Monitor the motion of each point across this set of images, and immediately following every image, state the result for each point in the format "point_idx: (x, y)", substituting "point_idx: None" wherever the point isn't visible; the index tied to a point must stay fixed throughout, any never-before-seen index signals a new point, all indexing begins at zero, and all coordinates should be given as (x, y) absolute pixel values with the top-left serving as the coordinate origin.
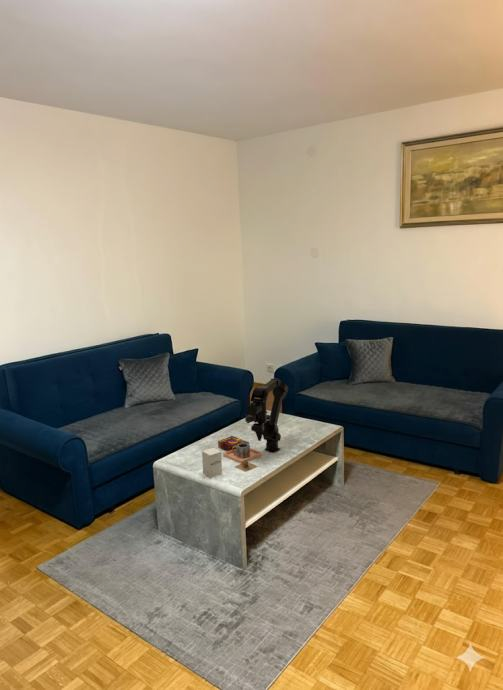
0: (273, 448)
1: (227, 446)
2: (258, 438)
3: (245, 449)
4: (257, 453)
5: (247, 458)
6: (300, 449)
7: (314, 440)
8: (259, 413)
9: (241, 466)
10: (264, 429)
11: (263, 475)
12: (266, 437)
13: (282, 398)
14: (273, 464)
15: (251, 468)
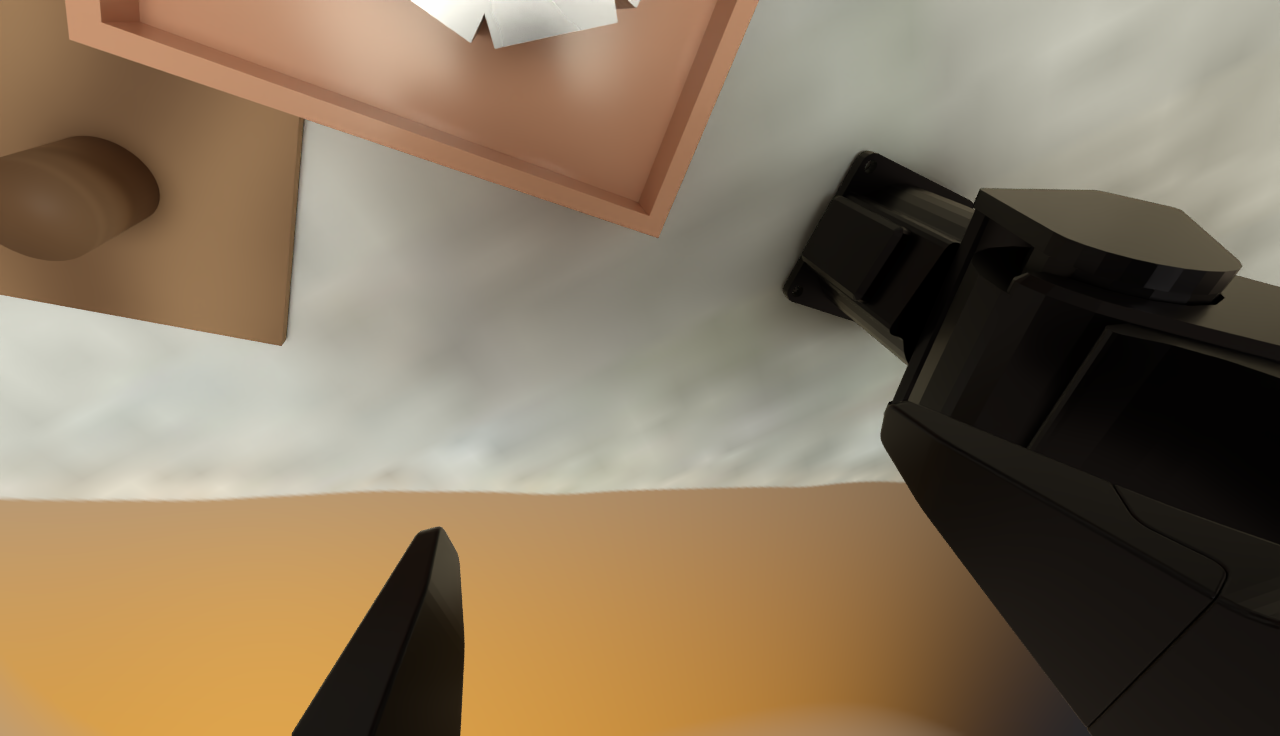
0: (840, 303)
1: None
2: (383, 620)
3: None
4: (668, 136)
5: (298, 108)
6: (892, 464)
7: None
8: None
9: (18, 89)
10: (998, 549)
11: (137, 492)
12: (949, 309)
13: None
14: (485, 439)
15: (132, 298)
